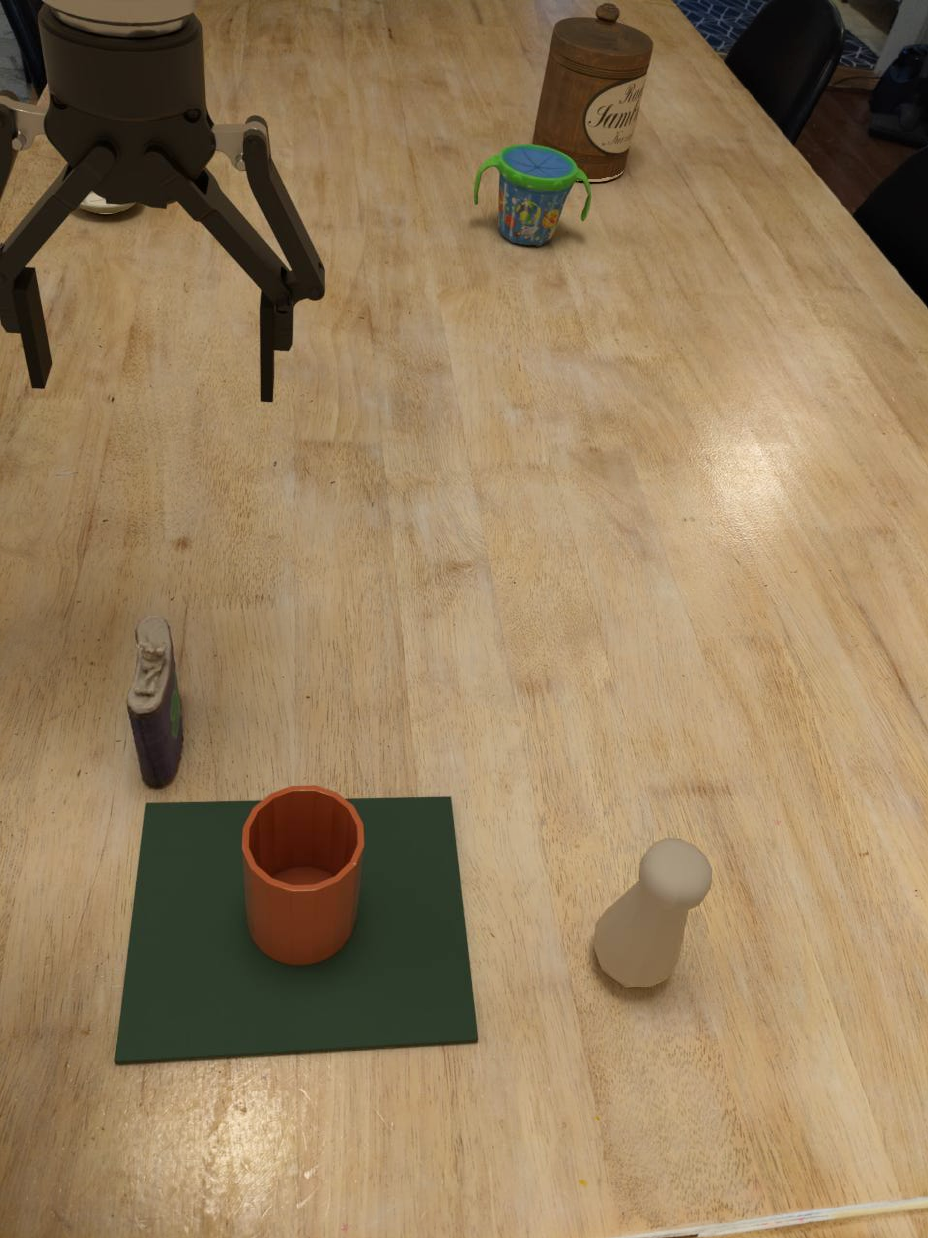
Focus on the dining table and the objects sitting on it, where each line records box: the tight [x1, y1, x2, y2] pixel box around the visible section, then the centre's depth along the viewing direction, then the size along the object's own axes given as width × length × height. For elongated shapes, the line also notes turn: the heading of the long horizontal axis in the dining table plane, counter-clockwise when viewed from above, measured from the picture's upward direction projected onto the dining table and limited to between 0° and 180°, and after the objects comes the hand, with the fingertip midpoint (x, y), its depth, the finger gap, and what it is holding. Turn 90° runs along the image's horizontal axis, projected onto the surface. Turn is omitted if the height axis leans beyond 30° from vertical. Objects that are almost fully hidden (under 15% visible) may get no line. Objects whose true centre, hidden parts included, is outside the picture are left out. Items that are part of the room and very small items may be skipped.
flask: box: [125, 615, 184, 790], centre depth 73 cm, size 9×3×11 cm, turn 7°
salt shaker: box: [592, 837, 713, 989], centre depth 65 cm, size 6×6×13 cm
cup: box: [242, 784, 364, 965], centre depth 65 cm, size 7×7×10 cm
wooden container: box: [531, 2, 654, 179], centre depth 151 cm, size 15×15×22 cm
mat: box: [113, 795, 479, 1065], centre depth 69 cm, size 22×18×1 cm
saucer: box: [77, 191, 136, 214], centre depth 130 cm, size 10×10×2 cm
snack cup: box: [473, 143, 592, 247], centre depth 136 cm, size 16×10×10 cm
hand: (156, 383), depth 64 cm, fingers open, 13 cm apart
